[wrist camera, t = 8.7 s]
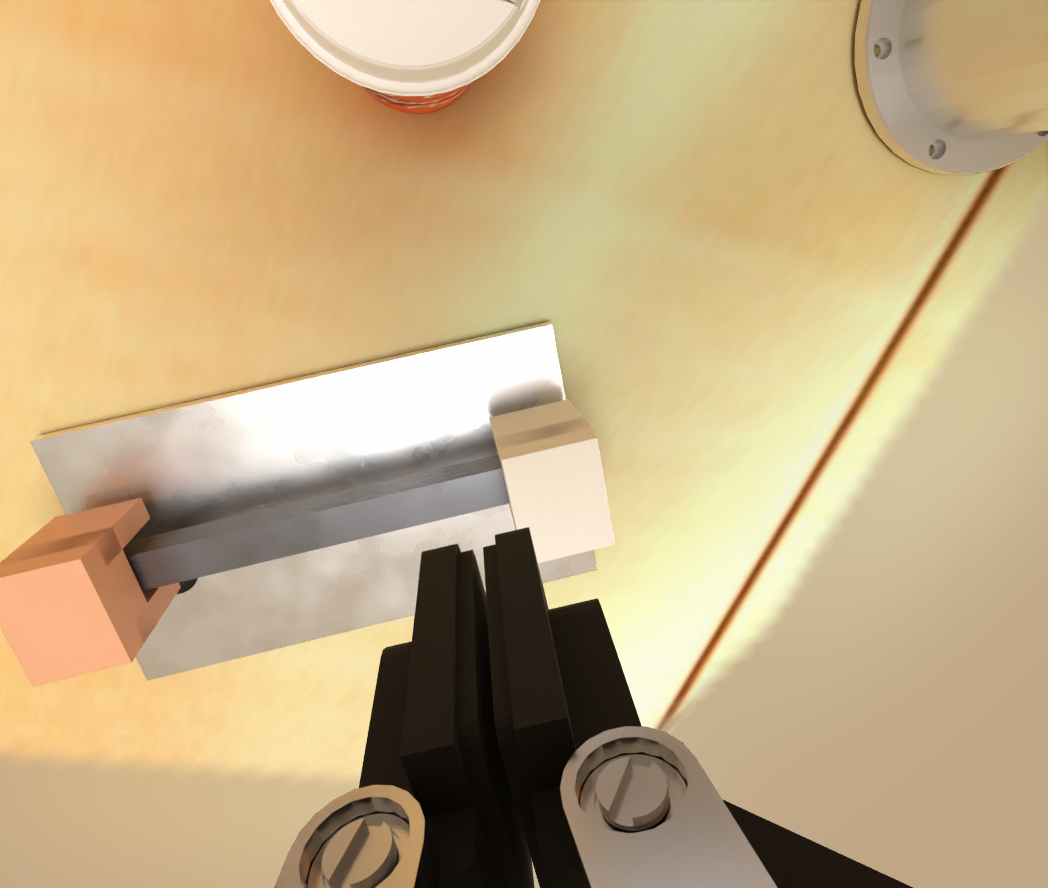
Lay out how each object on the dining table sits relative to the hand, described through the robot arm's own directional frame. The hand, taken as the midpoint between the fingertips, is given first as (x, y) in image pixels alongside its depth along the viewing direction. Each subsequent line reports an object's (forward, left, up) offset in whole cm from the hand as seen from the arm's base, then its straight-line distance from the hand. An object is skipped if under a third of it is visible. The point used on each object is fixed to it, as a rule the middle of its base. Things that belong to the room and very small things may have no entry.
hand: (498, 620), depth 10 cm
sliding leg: (+18, +6, -23) cm, 30 cm away
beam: (+8, +6, -24) cm, 26 cm away
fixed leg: (-3, +6, -23) cm, 24 cm away
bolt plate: (+8, +7, -24) cm, 27 cm away
